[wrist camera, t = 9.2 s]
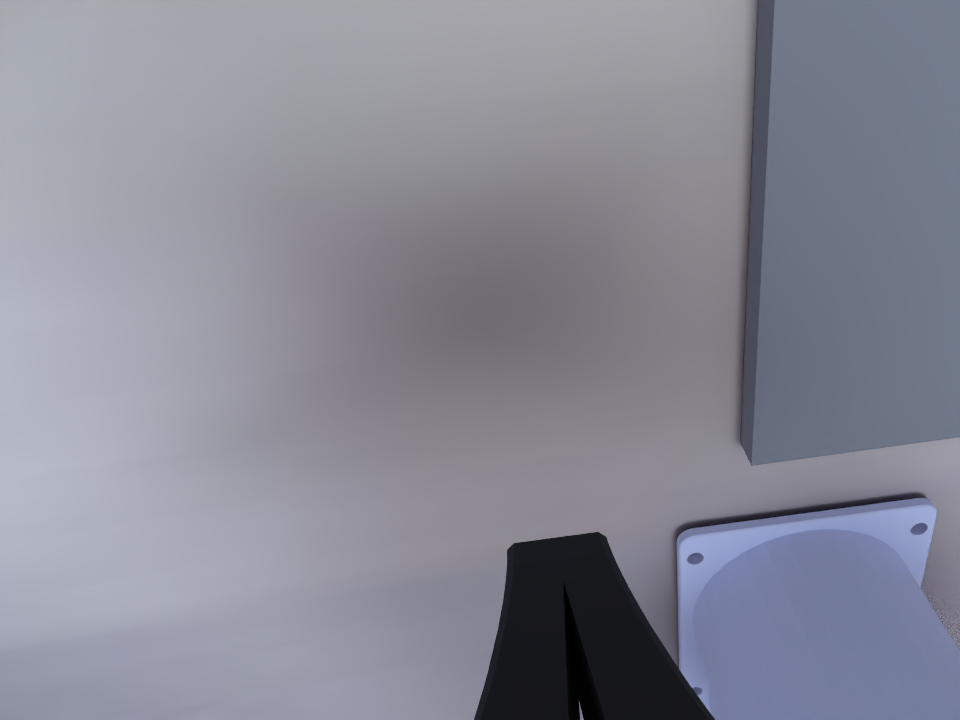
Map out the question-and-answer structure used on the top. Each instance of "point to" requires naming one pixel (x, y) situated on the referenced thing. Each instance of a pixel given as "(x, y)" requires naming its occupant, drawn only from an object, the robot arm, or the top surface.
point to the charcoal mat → (853, 228)
